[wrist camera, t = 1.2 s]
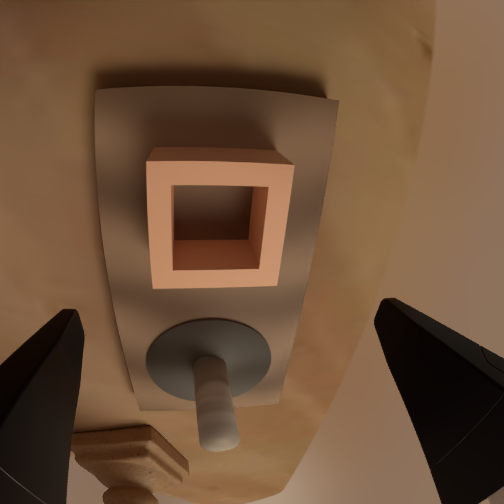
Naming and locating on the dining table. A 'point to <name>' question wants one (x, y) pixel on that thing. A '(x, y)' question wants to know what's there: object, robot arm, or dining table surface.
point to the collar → (218, 251)
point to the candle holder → (130, 462)
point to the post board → (207, 228)
